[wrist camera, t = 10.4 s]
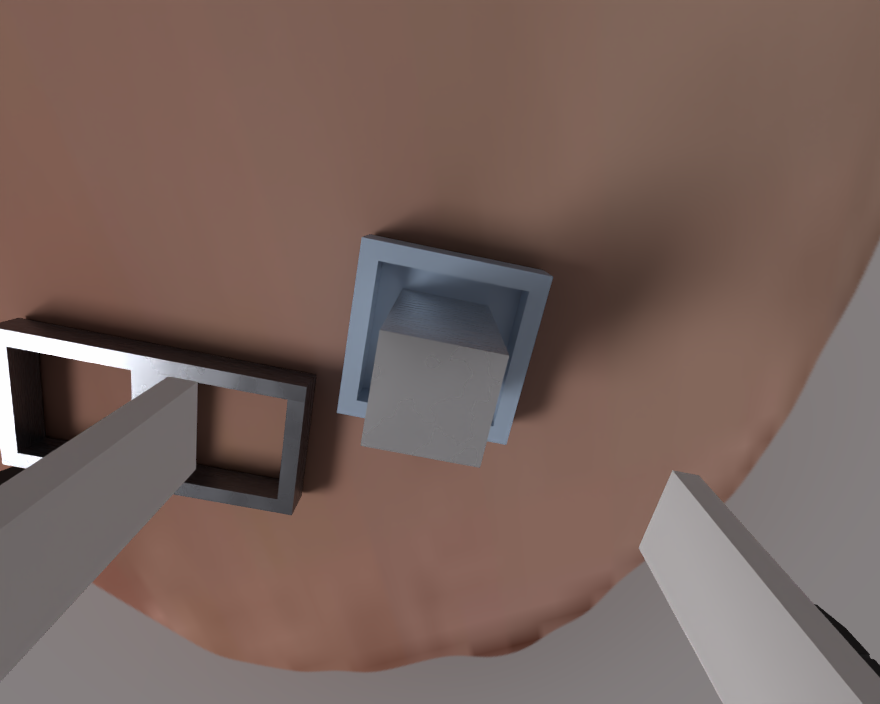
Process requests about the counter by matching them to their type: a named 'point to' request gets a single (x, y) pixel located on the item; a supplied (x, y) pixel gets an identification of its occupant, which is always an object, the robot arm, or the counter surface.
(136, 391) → the rack frame
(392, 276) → the parts tray
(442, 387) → the grey rectangular block
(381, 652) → the counter surface
